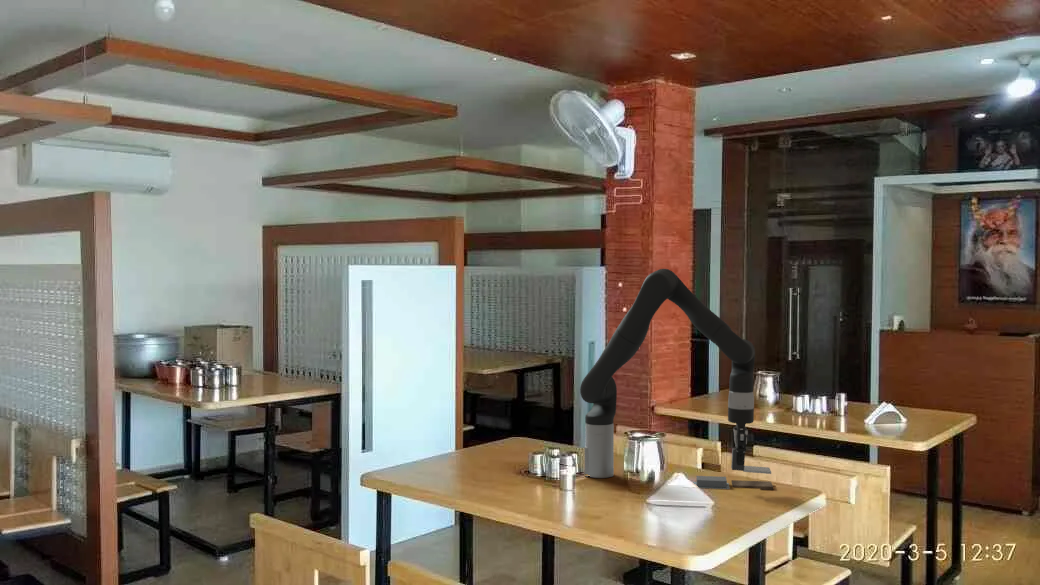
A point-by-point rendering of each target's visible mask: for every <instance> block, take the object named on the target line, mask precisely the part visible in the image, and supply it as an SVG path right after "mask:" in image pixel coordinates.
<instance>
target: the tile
mask: <svg viewBox="0 0 1040 585" xmlns="http://www.w3.org/2000/svg"><path fill="white" fill-rule="evenodd" d="M695 482H696V483H697V486H698V487H718V488H727V483H728V482H727V477H726V476H718V475H717V476H713V475H711V476H710V475H696V481H695Z"/></svg>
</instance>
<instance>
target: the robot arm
mask: <svg viewBox="0 0 1040 585" xmlns="http://www.w3.org/2000/svg"><path fill="white" fill-rule="evenodd" d="M666 300H669V301H670V302H672V303H673V304H675V305H676V306H677V307H678V308H679V309H681V311H682V312H684V314H685V315H686V317H687V318H688V320H690V321H689V322H691V323H692V325H693V326H694V327H695V329H696V330H698V331H699V332H700V333H701V335H703V336H704V337H705V338H707V339H708V340H709V341H710V342H712V343H713V344H714V345H716V346H717V347H718V348H719V350H720V351H721V352H722V353H723V354H724V355H725V356H726V357H727V358H728V359H729V360H730V361H731V372H730V373H729V374H730V375H729V383H728V384H729V385H728V386H729V387H728V388H729V389H728V390H729V391H728V396H727V397H728V398H727V400H728V402H727V421H728V422H729V423H732V424H735V426H733V428H732V430H733V441H734V445H735V446H734V448H737V450H736V451H737V465H744V466H745V463H744V458H745V459H746V451H747V448H746V447H747V444H748V433H749V430H748V428H747V427H746V424H747V425H748V424H749V425H750V424H753V423H754V421H755V420H754V419H755V418H754V417H755V414H754V413H755V396H754V369H755V361H756V359H755V358H756V348H755V345H754V344H753V343H752V342H751V341H750V340H748V339H744V338H743V339H742V338H741V337H740V336H739V335H738V334H737V333H736V332H734V331H733V330H732V328H731V327H730V325H729V324H728V323H727V322H725V321H724V320H722V318H720V317H719V316H718V315H717V314H716V313H714V312H713V311H712V310H711V309H710V308H708V307H707V306H706V305H705V304H704V303H703V302H702V301H701V300H700V299H699V298H698V297H697V296H695V294H694V293H693V292H692V291H691V290H690V289H689V288H688V287H687V286H686V285H685V283H684V282H683V281H682V280H681V279H680V278H679V276H678V275H677V274H676V273H675V272H673V271H672V270H671V269H668V268H660V269H657V270H655V271H653V272H651V273H649V274H648V275H647V276H646V278H645V279H644V281H643V283H642V285H641V287H640V289H639V291H638V294H637V296H636V297H635V300H634V302H633V304H632V305H631V307H630V308H629V309H628V311H627V313H626V314H625V315H624V317H623V318H622V319H621V321H620V323H619V324H618V325H617V327H616V329H615V331H614V332H613V334H612V336H611V337H610V340H609V342H608V343H607V345H606V347H604V350H603V351H602V353H601V354H600V356H599V358H598V359H597V361H596V362H595V363H594V365H593V366H592V367H591V369H590V370H589V371H588V372H587V374H586V375H585V376H584V378H583V379H582V382H581V383H580V388H579V390H580V392H579V393H580V397H581V399H582V400H583V401H584V402H585V403H587V404H592V408H590V410H589V411H588V412H587V413H586V414H585V418H584V419H585V423H584V426H585V428H584V432H585V433H584V434H585V436H584V437H585V441H584V442H585V444H584V445H585V446H584V475H585V474H588V475H590V477H589V478H595V479H605V478H611V477H614V473H615V471H614V466H615V465H614V464H615V463H614V461H615V460H614V456H615V455H614V454H615V453H614V446H615V445H614V440H615V439H614V431H615V430H614V420H615V419H614V418H615V416H616V412H617V399H618V398H617V396H618V395H617V394H618V391H617V390H618V389H617V383H616V380H615V379H614V375H615V373H617V371H619V370H620V368H622V367H623V366H624V365H625V364H626V363H627V362H629V361H630V360H631V359H632V358H633V357H634V356H635V355H636V353H637V352H638V351H639V349H640V348H641V346H642V344H643V343H644V341H645V339H646V337H647V334H648V331H649V328H650V325H651V322H652V320H653V318H654V316H655V314H656V313H657V311H658V310H659V309H660V307H661V306H662V305H663V304H664V302H665V301H666Z"/></svg>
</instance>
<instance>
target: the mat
mask: <svg viewBox="0 0 1040 585" xmlns="http://www.w3.org/2000/svg"><path fill="white" fill-rule="evenodd" d="M692 482H693V483H694V484H696V485H697V483H696V481H692ZM698 489H713V490H715V489H716V490H717V489H718V490H730V489H731V488H730V484H729V482H727V488H718V487H699V488H698Z"/></svg>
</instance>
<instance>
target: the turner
mask: <svg viewBox="0 0 1040 585" xmlns="http://www.w3.org/2000/svg"><path fill="white" fill-rule="evenodd" d="M731 448H732V450H731V467H730V468H731V470H732V471H739V472H741V471H742V472H743V473H752V474H764V475H765V474H766V475H767V474H768V475H772V470H771V468H770V467H767V466H755V465H754V466H753V465H745V460H746V457H745V458H744V465H737V451H736V450H737V448H735V447H731Z"/></svg>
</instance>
